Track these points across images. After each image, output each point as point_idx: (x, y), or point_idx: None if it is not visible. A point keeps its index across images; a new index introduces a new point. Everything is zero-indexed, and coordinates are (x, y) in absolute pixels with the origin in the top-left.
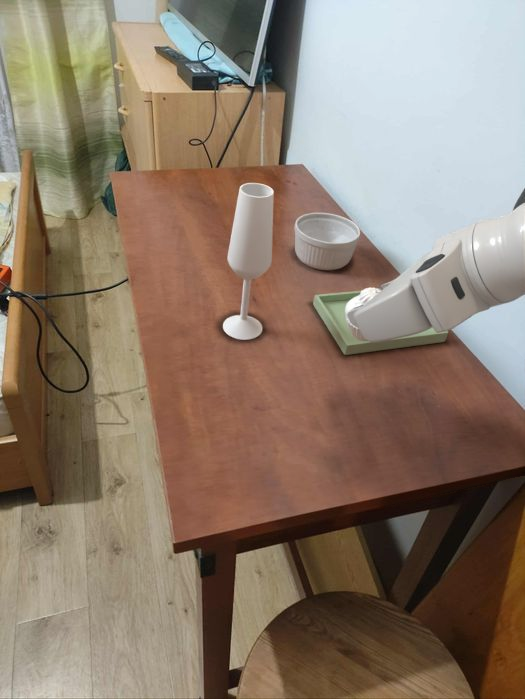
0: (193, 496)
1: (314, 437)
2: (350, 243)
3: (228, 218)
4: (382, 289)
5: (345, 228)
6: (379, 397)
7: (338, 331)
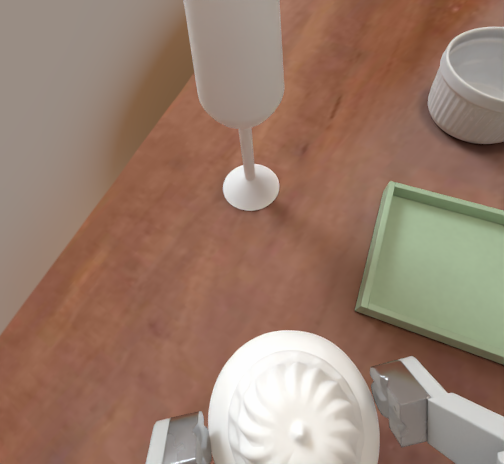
0: None
1: None
2: None
3: (379, 14)
4: (387, 392)
5: None
6: None
7: (369, 269)
